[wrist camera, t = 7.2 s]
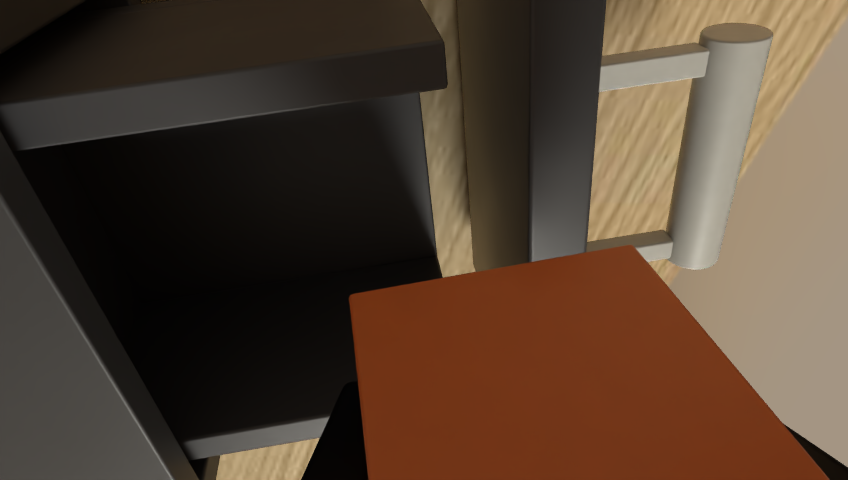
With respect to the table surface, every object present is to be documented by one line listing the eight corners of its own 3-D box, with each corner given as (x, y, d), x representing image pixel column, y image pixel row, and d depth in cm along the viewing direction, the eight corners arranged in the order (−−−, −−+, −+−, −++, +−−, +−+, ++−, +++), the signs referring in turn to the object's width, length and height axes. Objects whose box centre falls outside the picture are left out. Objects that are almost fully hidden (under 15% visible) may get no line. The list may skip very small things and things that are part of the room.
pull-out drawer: (693, -104, 14) (924, -72, 9) (643, 237, 20) (760, 386, 15) (-27, -10, 13) (-283, 94, 8) (144, 318, 19) (67, 509, 14)
